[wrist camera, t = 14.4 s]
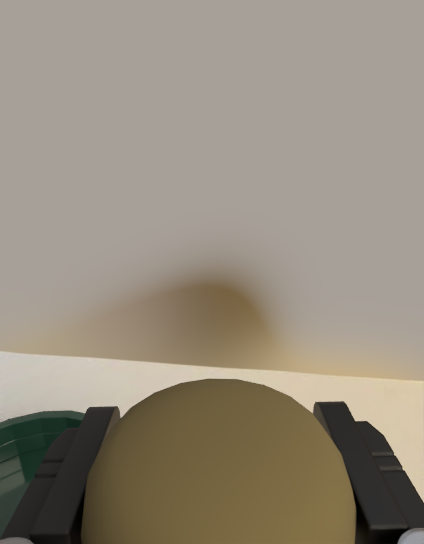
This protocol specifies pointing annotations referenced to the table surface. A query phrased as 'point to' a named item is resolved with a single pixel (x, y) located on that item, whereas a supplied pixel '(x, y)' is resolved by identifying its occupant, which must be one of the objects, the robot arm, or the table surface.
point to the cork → (218, 472)
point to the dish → (27, 453)
